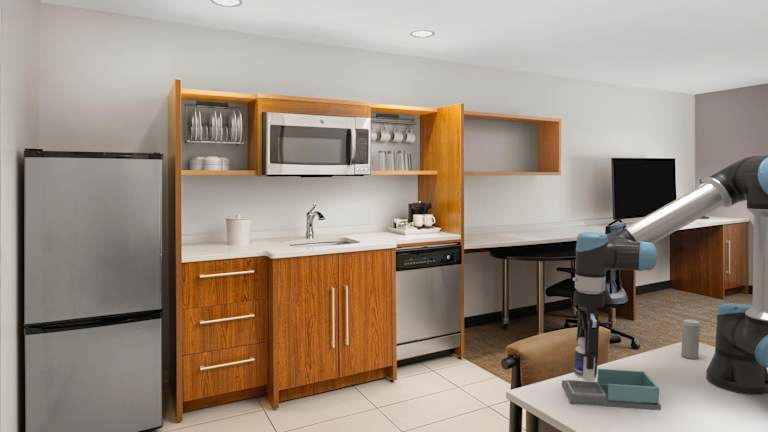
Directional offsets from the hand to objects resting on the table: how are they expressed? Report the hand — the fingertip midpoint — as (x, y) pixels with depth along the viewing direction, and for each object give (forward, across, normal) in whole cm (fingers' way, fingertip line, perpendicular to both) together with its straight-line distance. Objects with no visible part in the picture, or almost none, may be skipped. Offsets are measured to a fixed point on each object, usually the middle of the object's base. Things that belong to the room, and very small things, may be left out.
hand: (585, 374), depth 136 cm
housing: (+4, 0, +11) cm, 11 cm away
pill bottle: (0, 0, 0) cm, 0 cm away
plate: (+6, 0, +6) cm, 8 cm away
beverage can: (+6, -35, +41) cm, 54 cm away
